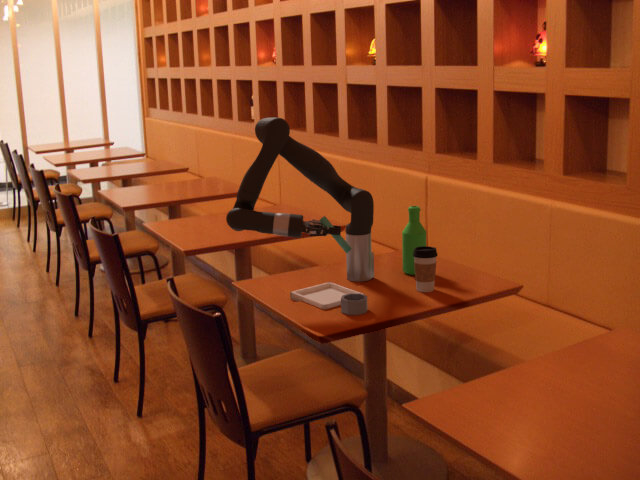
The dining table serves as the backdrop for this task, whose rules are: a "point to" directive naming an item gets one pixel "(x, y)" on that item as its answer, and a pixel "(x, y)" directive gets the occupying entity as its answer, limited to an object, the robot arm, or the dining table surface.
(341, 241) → the green rounded rod
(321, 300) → the tray
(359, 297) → the cup
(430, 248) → the coffee cup
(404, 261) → the bottle
